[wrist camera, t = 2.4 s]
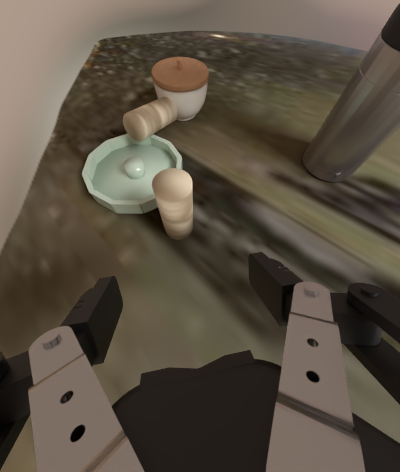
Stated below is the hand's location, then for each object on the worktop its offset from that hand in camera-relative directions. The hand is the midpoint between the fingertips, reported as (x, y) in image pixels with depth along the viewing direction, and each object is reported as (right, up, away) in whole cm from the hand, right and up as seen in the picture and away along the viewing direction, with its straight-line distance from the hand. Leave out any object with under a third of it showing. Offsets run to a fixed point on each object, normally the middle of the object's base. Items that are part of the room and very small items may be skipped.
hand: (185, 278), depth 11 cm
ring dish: (-10, +13, +23) cm, 28 cm away
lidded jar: (-3, +30, +31) cm, 44 cm away
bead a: (-2, +4, +18) cm, 19 cm away
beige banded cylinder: (-10, +21, +20) cm, 31 cm away
